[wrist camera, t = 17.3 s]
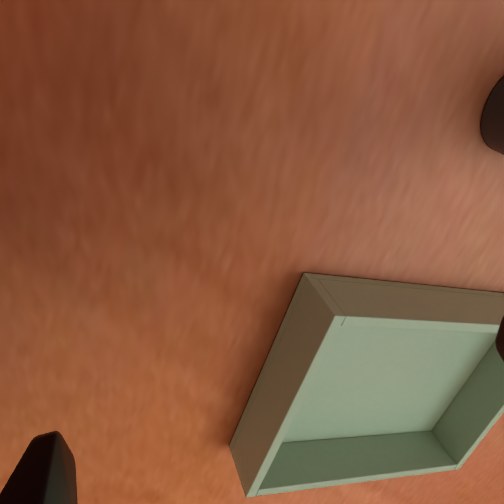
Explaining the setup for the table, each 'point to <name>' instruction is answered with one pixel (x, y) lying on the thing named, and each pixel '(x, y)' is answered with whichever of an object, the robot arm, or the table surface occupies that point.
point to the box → (371, 385)
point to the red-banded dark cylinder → (494, 119)
